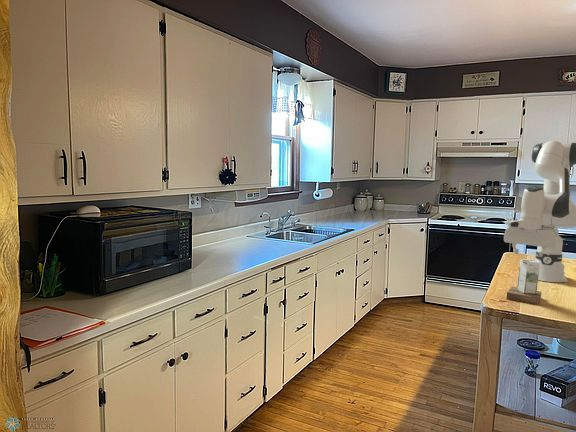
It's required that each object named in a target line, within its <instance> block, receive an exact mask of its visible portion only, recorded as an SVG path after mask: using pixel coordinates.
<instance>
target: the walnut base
mask: <svg viewBox="0 0 576 432" xmlns="http://www.w3.org/2000/svg"><path fill="white" fill-rule="evenodd" d="M541 299H542V291H538V290H537V292H536V294H524V293H522V292H520V291H518V290H517V286H511V287H510V288H509V289H508V291H506V300H509V301H510V300H511V301H515V302H521V303H524V304H525V303H526V304H531V305H535V306H537V305H538V304H539V302H540V301H541Z"/></svg>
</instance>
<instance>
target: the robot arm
mask: <svg viewBox="0 0 576 432" xmlns="http://www.w3.org/2000/svg"><path fill="white" fill-rule="evenodd" d="M530 156H531V161H532V163H534V170H535V172H536V174H537V175H538V176H540V177H541V178H543V179H544V182H543V187H540V186H527V187H525V188H524V189H523V194H522V197H521V201H520V209H521V213H520V216H519V219H514V220H510V221H508V223H507V227H506V228H505V231H504V234H503V241H504V243H506V244H507V243H509V244H511V247H512V249H513V251H514V252H513V253H514V254H519V250H520V249H518V248H517V247H516V246H517V245H524V246H531V247H533V246H534V247H536V248H537V249H536V252H535V259H534V260H536V261H538V262H540V269H539V277H538V281H542V282H548V283H569V281H568V279H567V277H566V276H565V274H566V272H565V265H564V263H563V262H562V261H563V253H562V252H563V244H564V243H563V242H564V241H563V238H562V236H560V235H559V229H558V228H562V229H563V228H564V229H571V228H576V206H575V205H574V203H573V202H572V200H571V197H570V196H571V194H570V193H571V191H570V188H571V186H570V178H571V168H572V167H574V165H576V142H567V141H566V142H565V141H564V142H563V141H562V142H561V141H559V140H548V141H547V142H545V143H542V142H541V143H537V144H535V145H534V146H533V147H532V149H531V152H530Z"/></svg>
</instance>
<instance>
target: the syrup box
mask: <svg viewBox="0 0 576 432" xmlns="http://www.w3.org/2000/svg"><path fill="white" fill-rule="evenodd" d="M539 269H540V262H538V261H536V260H535V259H526V258H521V259H520V260H519V270H518V278H517V279H518V280H517V284H516V285H517V286H516V287H517V290H518V291H520V292H522V293H524V294H536V292H537V291H538V285H539V284H538V283H539V280H538V277H539Z"/></svg>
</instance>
